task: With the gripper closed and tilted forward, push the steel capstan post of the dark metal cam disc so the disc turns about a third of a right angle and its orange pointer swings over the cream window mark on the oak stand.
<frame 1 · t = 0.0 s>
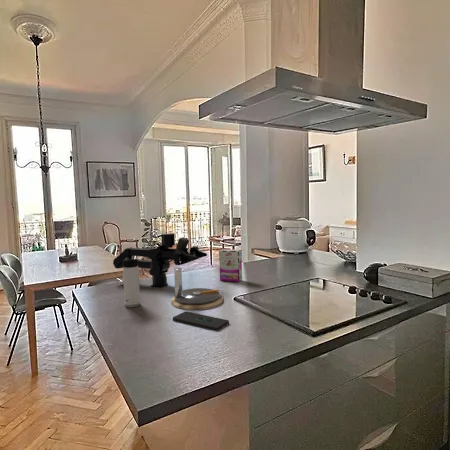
hand: (202, 256, 165), 17 cm above the counter, tool horizontal, fingers open, 9 cm apart
cam disc: (197, 282, 150), point 8 cm above the counter, hinge at 0.0°
travel mug: (132, 305, 147), on the counter
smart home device: (200, 323, 126), on the counter
oak stand: (197, 301, 150), on the counter
candy bar box: (231, 280, 184), on the counter
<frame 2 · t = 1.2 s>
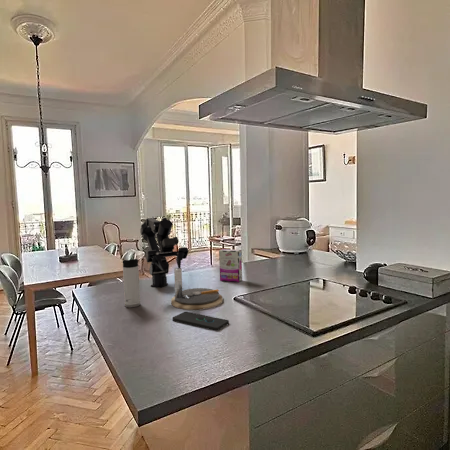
hand: (171, 269, 155), 13 cm above the counter, tool tilted 45°, fingers open, 7 cm apart
nothing on the counter moved.
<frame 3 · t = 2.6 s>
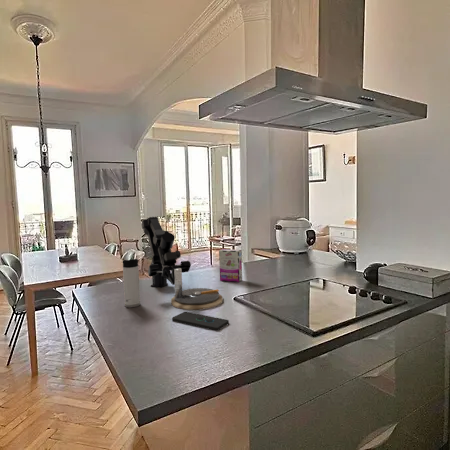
hand: (173, 284, 152), 7 cm above the counter, tool tilted 45°, fingers closed
nothing on the counter moved.
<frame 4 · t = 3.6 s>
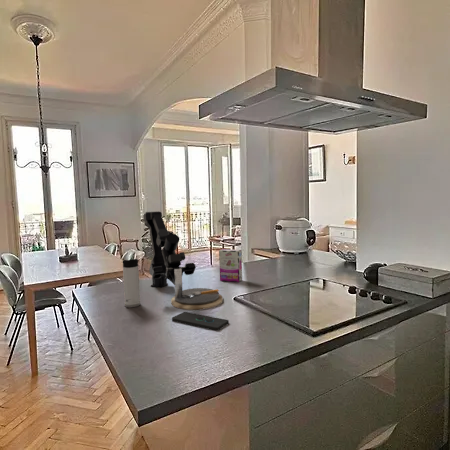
hand: (178, 287, 148), 7 cm above the counter, tool tilted 45°, fingers closed
cam disc: (197, 282, 150), point 8 cm above the counter, hinge at 1.0°, touching gripper
everything else where it was.
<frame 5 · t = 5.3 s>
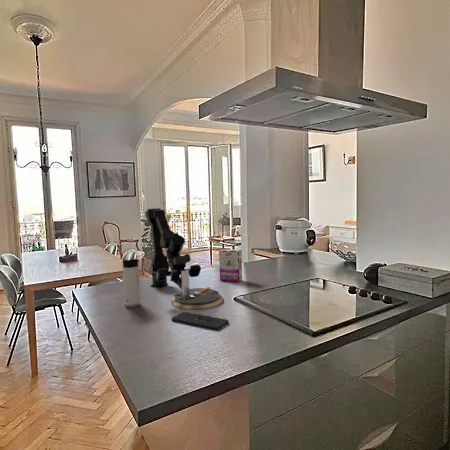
hand: (183, 289, 144), 7 cm above the counter, tool tilted 45°, fingers closed
cam disc: (196, 282, 150), point 8 cm above the counter, hinge at 36.2°
everything else where it was.
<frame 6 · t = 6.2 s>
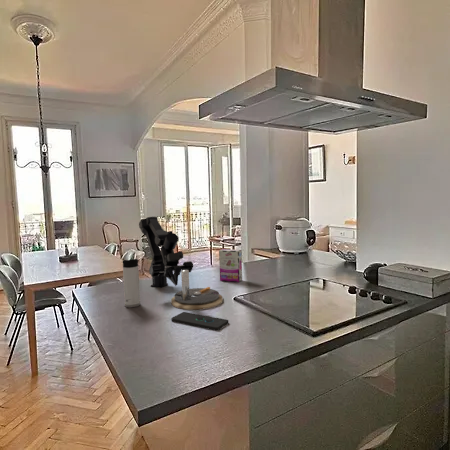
hand: (176, 284, 153), 6 cm above the counter, tool tilted 45°, fingers closed
nothing on the counter moved.
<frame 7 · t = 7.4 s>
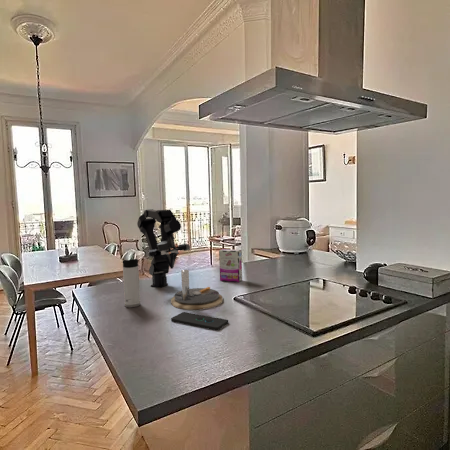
hand: (172, 268, 163), 12 cm above the counter, tool pointing down, fingers closed
nothing on the counter moved.
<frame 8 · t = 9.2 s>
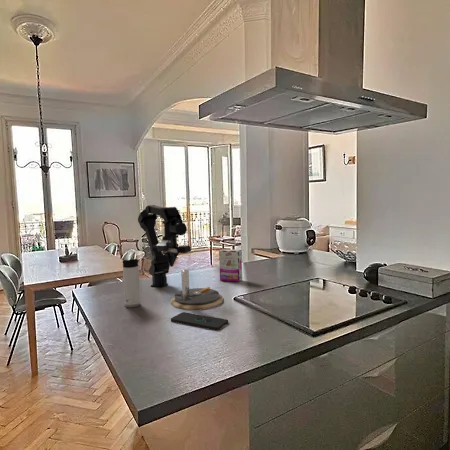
hand: (171, 266, 166), 12 cm above the counter, tool pointing down, fingers closed
nothing on the counter moved.
at the end: cam disc at +36° (first picture: +0°); travel mug moved 0.2 cm from its start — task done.
